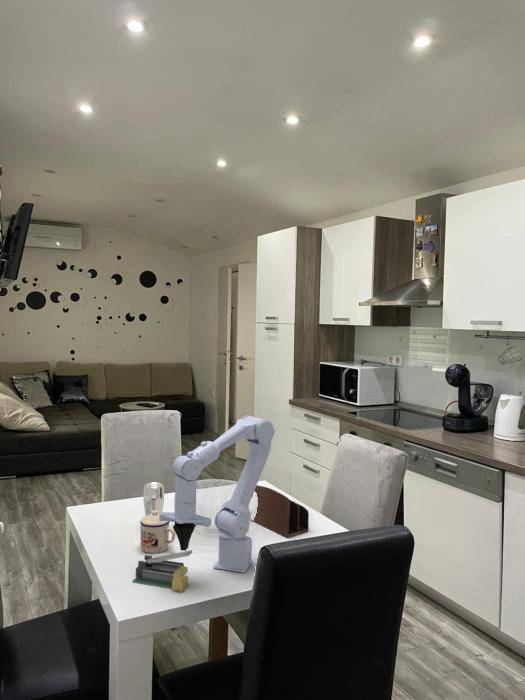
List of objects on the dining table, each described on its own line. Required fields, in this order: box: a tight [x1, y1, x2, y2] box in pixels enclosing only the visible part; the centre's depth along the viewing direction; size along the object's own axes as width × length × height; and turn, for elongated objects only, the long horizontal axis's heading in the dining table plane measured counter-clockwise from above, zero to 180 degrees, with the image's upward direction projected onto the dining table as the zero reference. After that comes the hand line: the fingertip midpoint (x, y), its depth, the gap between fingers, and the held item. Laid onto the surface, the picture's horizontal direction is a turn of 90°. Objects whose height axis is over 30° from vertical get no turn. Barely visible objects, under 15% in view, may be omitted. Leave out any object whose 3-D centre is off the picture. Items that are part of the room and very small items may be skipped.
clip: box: [171, 565, 189, 593], centre depth 148 cm, size 3×5×5 cm, turn 165°
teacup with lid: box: [139, 510, 176, 554], centre depth 173 cm, size 12×9×12 cm
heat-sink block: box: [132, 560, 188, 590], centre depth 155 cm, size 12×11×3 cm
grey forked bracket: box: [135, 554, 153, 578], centre depth 156 cm, size 3×5×4 cm, turn 165°
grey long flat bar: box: [143, 550, 193, 564], centre depth 154 cm, size 15×2×1 cm, turn 75°
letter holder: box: [252, 484, 310, 539], centre depth 195 cm, size 10×20×14 cm, turn 39°
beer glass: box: [142, 481, 165, 516], centre depth 190 cm, size 7×7×15 cm
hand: (184, 549), depth 153 cm, fingers closed
